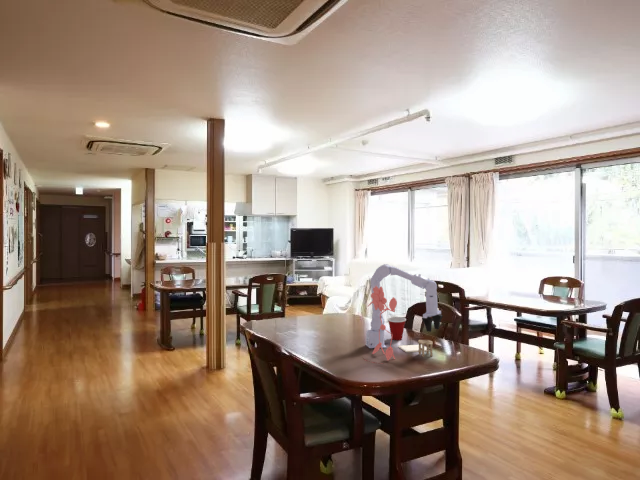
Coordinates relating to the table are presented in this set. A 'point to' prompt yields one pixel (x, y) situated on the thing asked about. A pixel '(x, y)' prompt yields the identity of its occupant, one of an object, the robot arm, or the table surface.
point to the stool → (423, 346)
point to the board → (412, 348)
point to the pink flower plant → (379, 303)
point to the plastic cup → (396, 327)
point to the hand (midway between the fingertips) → (432, 330)
